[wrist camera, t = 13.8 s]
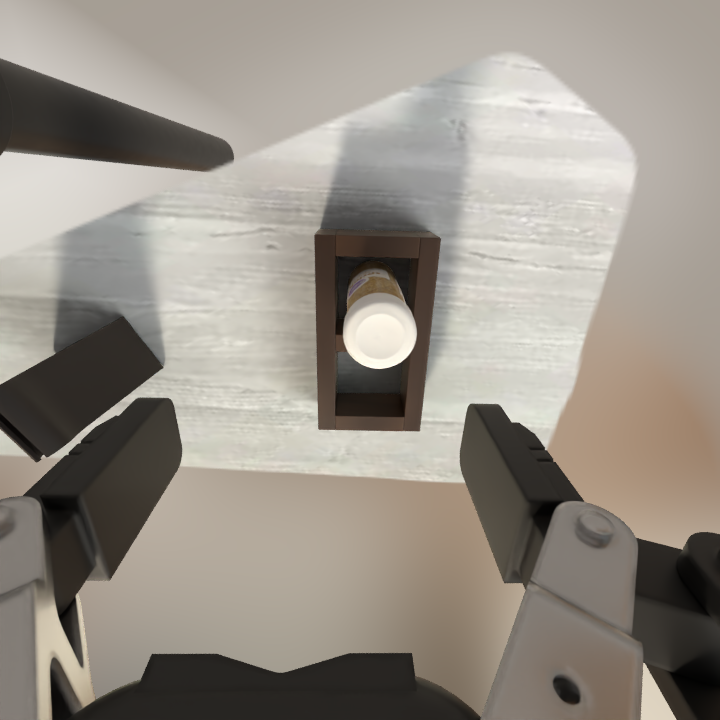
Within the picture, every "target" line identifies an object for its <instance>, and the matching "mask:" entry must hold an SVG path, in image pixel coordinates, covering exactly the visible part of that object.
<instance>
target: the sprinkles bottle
mask: <svg viewBox="0 0 720 720" xmlns="http://www.w3.org/2000/svg"><path fill="white" fill-rule="evenodd" d="M416 337H417V328H416V323H415V320H414V317H413V315H412V313H411V311H410V309H409V307H408V306H407V305H406V302H405V299H404V297H403V294H402V292H401V289H400V287H399V285H398V283H397V281H396V277H395V274H394V272H393V271H392V270H391V268H390V267H389V266H387V265H386V264H384V263H382V262H378V261H367V262H364V263H362V264H360V265H358V266H357V267H356V268H355V269H354V270H353V271H352V273H351V275H350V277H349V281H348V295H347V314H346V316H345V319H344V326H343V339H344V344H345V347H346V349H347V351H348V352H349V354H350V355H351V356H352V357H353V358H354V359H355V360H356V361H357V362H359V363H360V364H362V365H364V366H367V367H370V368H376V369H382V368H388V367H392V366H394V365H397V364H398V363H400V362H402V361H403V360H404V359H405V358H407V356H408V355H409V354H410V353H411V351H412V349H413V348H414V345H415V342H416Z"/></svg>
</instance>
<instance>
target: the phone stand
mask: <svg viewBox="0 0 720 720" xmlns="http://www.w3.org/2000/svg"><path fill="white" fill-rule="evenodd" d="M162 368H163V366H162V365H161V364H160V362H159V361H158V360H157V359H156V357H155V356H154V355H153V354H152V352H151V351H150V350H149V348H148V347H147V346H146V345H145V343H144V342H143V341H142V340H141V338H140V337H139V336H138V335H137V333H136V332H135V331H134V330H133V328H132V327H131V326H130V325H129V323H128V322H127V321H126V320H125V318H124V317H121V318H120V319H118V320H116V321H114V322H112V323H111V324H109V325H107V326H105V327H103V328H102V329H100V330H98V331H96V332H94V333H93V334H91V335H89V336H87V337H85V338H84V339H82V340H80V341H78V342H76V343H75V344H73V345H71V346H69V347H67V348H65V349H64V350H62V351H60V352H58V353H56V354H55V355H53V356H51V357H49V358H47V359H46V360H44V361H42V362H40V363H38V364H37V365H35V366H33V367H31V368H29V369H28V370H26V371H24V372H22V373H20V374H19V375H17V376H15V377H13V378H11V379H10V380H8V381H6V382H4V383H2V384H1V385H0V429H1V430H2V431H3V432H4V433H5V434H6V435H7V436H8V437H9V438H11V439H12V440H13V441H14V442H15V443H16V444H17V445H18V446H19V447H20V448H21V449H22V450H23V451H24V452H25V453H27V454H28V455H29V456H30V457H31V458H32V459H33V460H34V461H35V462H39V461H40V460H41V456H42V455H45V456H46V457H49V456H50V455H52V454H54V453H55V452H57V451H58V450H59V449H61V448H62V447H64V446H65V445H66V444H67V443H69V442H70V441H71V440H72V439H73V438H74V437H75V436H76V435H77V434H78V433H80V432H81V431H82V430H83V429H84V428H86V427H87V426H88V425H89V424H91V423H92V422H93V421H95V420H96V419H97V418H98V417H100V416H101V415H102V414H104V413H105V412H106V411H108V410H109V409H110V408H111V407H113V406H114V405H115V404H117V403H118V402H119V401H121V400H122V399H123V398H124V397H126V396H127V395H128V394H130V393H131V392H132V391H133V390H135V389H136V388H137V387H139V386H140V385H141V384H143V383H144V382H145V381H146V380H148V379H149V378H150V377H152V376H153V375H154V374H156V373H157V372H158V371H159V370H161V369H162Z"/></svg>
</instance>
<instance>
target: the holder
mask: <svg viewBox="0 0 720 720" xmlns="http://www.w3.org/2000/svg"><path fill="white" fill-rule="evenodd" d="M440 242H441V238H440V237H438V236H436V235H435V234H433V233H431V232H422V231H387V230H352V229H319V230H318V231H317V233H316V234H315V283H316V332H317V382H318V429H319V430H367V431H420V425H421V416H422V407H423V397H424V388H425V379H426V370H427V361H428V352H429V343H430V333H431V324H432V315H433V306H434V297H435V288H436V279H437V269H438V260H439V251H440ZM338 256H348V257H385V258H411V259H410V272H409V284H408V297H407V306H408V307H409V309H410V311H411V313H412V315H413V317H414V320H415V323H416V328H417V337H416V342H415V345H414V348H413V349H412V351H411V353H410V354H409V355H408V356H407V358H405V359H404V360H403V361H402V372H401V384H400V394H381V393H337V374H338V352H348V351H347V349H346V347H345V344H344V339H343V326H344V319H341V318H338Z"/></svg>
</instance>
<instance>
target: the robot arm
mask: <svg viewBox="0 0 720 720" xmlns="http://www.w3.org/2000/svg"><path fill="white" fill-rule="evenodd" d="M181 457H182V444H181V439H180V434H179V429H178V424H177V419H176V414H175V409H174V405H173V402H172V401H171V399H169V398H137V399H136V400H134V401H133V402H132V403H131V404H130V405H129V406H128V407H127V408H126V409H125V410H124V411H123V412H122V413H121V414H120V415H119V416H115V417H113V418H111V419H109V420H107V421H106V422H104V423H102V424H100V425H98V426H97V427H95V428H94V429H93V430H92V431H91V432H90V433H89V434H88V435H87V436H85V437H84V438H83V439H82V440H81V443H80V444H77V445H76V446H75V447H74V448H73V449H72V450H71V451H70V452H69V455H65V456H64V457H63V458H62V459H61V460H60V461H59V462H58V463H57V464H56V465H55V466H54V467H53V468H52V469H51V470H49V471H48V472H47V473H46V474H45V475H44V476H43V477H42V478H41V479H40V480H39V481H38V482H37V483H36V484H35V485H34V486H32V488H31V489H29V490H28V491H27V492H26V493H25V494H24V495H23V496H18V497H9V498H5V499H1V500H0V720H640V718H641V697H642V696H641V695H642V675H643V663H645V664H646V665H647V668H648V669H649V671H650V673H651V675H652V676H653V678H654V680H655V682H656V684H657V685H658V687H659V689H660V691H661V692H662V694H663V696H664V698H665V700H666V701H667V703H668V705H669V707H670V709H671V710H672V712H673V714H674V716H675V717H676V719H677V720H720V534H715V533H709V532H700V533H695V534H693V535H691V536H690V537H689V539H688V540H687V542H686V544H685V546H684V548H683V550H681V549H677V548H673V547H669V546H666V545H662V544H658V543H654V542H650V541H646V540H642V539H639V538H636V537H635V536H634V534H633V532H632V531H631V529H630V528H629V527H628V526H627V525H626V524H625V523H624V522H623V521H622V520H621V519H619V518H618V517H617V516H615V515H614V514H612V513H610V512H609V511H607V510H605V509H603V508H601V507H599V506H596V505H593V504H590V503H586V502H584V500H583V499H582V498H581V496H580V495H579V494H578V492H577V491H576V489H575V488H574V487H573V485H572V484H571V483H570V481H569V480H568V478H567V477H566V476H565V474H564V473H563V472H562V470H561V469H560V468H559V466H558V465H557V464H556V462H553V458H552V457H551V455H550V454H549V453H548V451H547V450H545V447H544V446H543V445H542V443H541V442H540V440H539V439H538V438H537V436H536V435H535V434H534V433H532V432H531V431H530V430H528V429H527V428H526V427H524V426H523V425H521V424H520V423H512V422H511V421H510V419H509V418H508V416H507V415H506V413H505V412H504V410H503V409H502V408H501V406H500V405H498V404H470V405H469V406H468V409H467V413H466V419H465V425H464V431H463V436H462V442H461V448H460V466H461V471H462V474H463V477H464V480H465V482H466V485H467V487H468V490H469V493H470V495H471V497H472V501H473V503H474V506H475V508H476V511H477V514H478V516H479V519H480V521H481V524H482V527H483V529H484V532H485V534H486V537H487V540H488V542H489V545H490V547H491V550H492V553H493V555H494V558H495V561H496V563H497V566H498V568H499V571H500V573H501V576H502V579H503V581H504V583H523V585H524V587H525V590H526V591H525V594H524V596H523V600H522V602H521V605H520V608H519V611H518V613H517V616H516V619H515V622H514V625H513V628H512V631H511V634H510V636H509V639H508V642H507V645H506V648H505V650H504V653H503V656H502V659H501V662H500V665H499V668H498V671H497V674H496V676H495V679H494V682H493V685H492V688H491V690H490V693H489V696H488V699H487V702H486V705H485V707H484V710H483V713H482V716H481V717H480V716H479V715H478V714H477V713H476V712H475V711H474V710H473V709H472V708H471V707H469V706H468V705H467V704H465V703H464V702H463V701H462V700H460V699H459V698H458V697H457V696H455V695H454V694H452V693H450V692H449V691H447V690H445V689H444V688H442V687H441V686H439V685H437V684H434V683H432V682H430V681H428V680H426V679H423V678H420V677H417V676H415V673H414V665H413V657H412V653H349V654H346V655H342V656H339V657H335V658H333V659H329V660H326V661H322V662H319V663H315V664H312V665H309V666H305V667H302V668H299V669H296V670H292V671H289V672H285V673H276V672H272V671H269V670H266V669H263V668H260V667H256V666H253V665H250V664H247V663H244V662H241V661H238V660H234V659H231V658H228V657H225V656H222V655H219V654H152V655H151V657H150V660H149V662H148V664H147V667H146V669H145V671H144V674H143V676H142V678H141V680H137V681H134V682H132V683H129V684H127V685H124V686H122V687H120V688H117V689H115V690H113V691H111V692H109V693H107V694H106V695H104V696H102V697H100V698H98V699H96V697H95V694H94V690H93V686H92V681H91V675H90V667H89V660H88V653H87V646H86V638H85V630H84V623H83V615H82V608H81V602H80V598H79V596H78V591H79V590H80V589H81V587H82V585H83V584H84V583H85V581H86V580H87V581H89V580H91V581H103V580H104V581H106V580H107V581H109V580H110V579H111V578H112V576H113V574H114V573H115V571H116V570H117V568H118V566H119V565H120V563H121V561H122V560H123V558H124V556H125V555H126V553H127V551H128V550H129V548H130V547H131V545H132V543H133V542H134V540H135V539H136V537H137V535H138V534H139V532H140V530H141V529H142V527H143V525H144V524H145V522H146V521H147V519H148V517H149V516H150V514H151V512H152V511H153V509H154V507H155V506H156V504H157V503H158V501H159V499H160V498H161V496H162V494H163V493H164V491H165V490H166V488H167V486H168V485H169V483H170V481H171V480H172V478H173V476H174V475H175V473H176V472H177V470H178V468H179V465H180V462H181Z"/></svg>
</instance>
